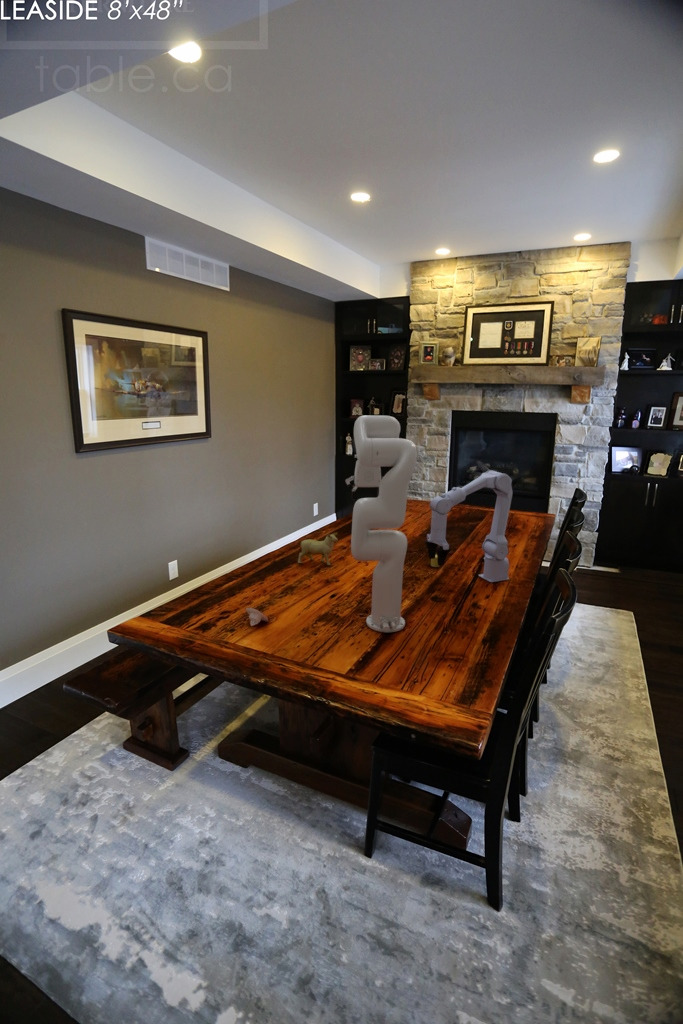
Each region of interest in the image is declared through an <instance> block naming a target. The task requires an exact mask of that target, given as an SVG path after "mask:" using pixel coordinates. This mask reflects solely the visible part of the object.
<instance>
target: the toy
mask: <svg viewBox="0 0 683 1024" xmlns="http://www.w3.org/2000/svg"><path fill="white" fill-rule="evenodd" d="M337 535H338V532H333V533H332V534H330V533H327V534H326V536H325V539H324V540H320V541H319V540H315V539H311V538H309V539H308V538H307V539H304V540H301V542H300V548H301V551H300V552H299V554H298V559H297V564H298V565H302V563H303V562H302V558H303V557H304V556H306V557H307V558H308V559H309V560H310V562H314V558H313V556H312V555H314V556H315V555H316V556H318V555H321V558H320V563H325V561H326V565H327V566H328V567H332V564H331V563H330V561H329V556H330V555H331V553H332V552H333V550H334V545H335V544H334V542H335V543H337V542H338V541H339V538H337V537H336V536H337ZM311 554H312V555H311Z"/></svg>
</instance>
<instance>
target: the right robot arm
mask: <svg viewBox="0 0 683 1024" xmlns="http://www.w3.org/2000/svg"><path fill="white" fill-rule="evenodd" d="M512 483H513V479H512V478H511V477H510V475H508V474H507V473H504V472H503V473H502V472H499V471H495V470H493V469H489V470H486V471H485V472H482V473H481V474H480V475H479V476H478V477H476V478H475V479H473V480H472V481H470V482H468V483H467V484H465V485H464V486H462V487H459V486H456V487H455V486H453V487H452V488H451V490H449V491H447V492H445V493H442V494H441V495H440V496H434V497H432V499H431V501H430V502H429V505H428V506H429V508H430V510H431V521H430V533H427V534H426V540H424V544H425V546H426V550H427V555H428V559H429V560H431V559H435V555H437V561H438V565H440V566H445V565H444V564H445V562H446V559H447V557H448V555H449V554H450V552H451V547H450V544H449V543H448V542H447V539H446V536H447V520H448V514H449V512H450V511H451V509H452V508H453V507H454V506H456V505H458V504H460V503H462V502H463V501H466V497H467V496H469V495H471V494H473V493H474V492H477V491H479V490H481V489H483V488H489V489H491V490H492V491H493V492H494V493H495V494H496V501H495V506H494V512H493V517H492V522H491V526H490V532H489V533H488V534H487V535H486V536H485V539H484V541H483V543H482V546H481V550H482V551H483V552H484V557H485V560H484V562H483V563H484V564H483V571H482V573H481V574H478V577H480V578H481V579H483V580H485V581H487V582H489V583H497V582H502V581H508V580H510V577H509V570H510V569H509V568H510V561H509V559H508V558H507V557H508V555H509V548H508V545H509V541H508V540H507V538H506V536H505V535H506V529H507V525H508V519H509V514H510V509H511V504H512V499H513V493H514V491H513V487H512Z"/></svg>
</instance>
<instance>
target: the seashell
mask: <svg viewBox="0 0 683 1024" xmlns="http://www.w3.org/2000/svg"><path fill="white" fill-rule="evenodd" d="M245 611H246V614H248V615H249V616H248V619H249V625H250V626H251V627H253V626H256V625H258V624H259V623H260V622H261V621H265V622H269V618H268V616H267V615H266V614H264V613H263V612H261V611H260V610H259V609H256V608H253V607H245Z"/></svg>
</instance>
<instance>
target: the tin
mask: <svg viewBox="0 0 683 1024" xmlns="http://www.w3.org/2000/svg"><path fill="white" fill-rule="evenodd" d="M430 566H431V567H433V568H439V567H440V566H441V565H438V561H437V554H436V555H435V559H430Z"/></svg>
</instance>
